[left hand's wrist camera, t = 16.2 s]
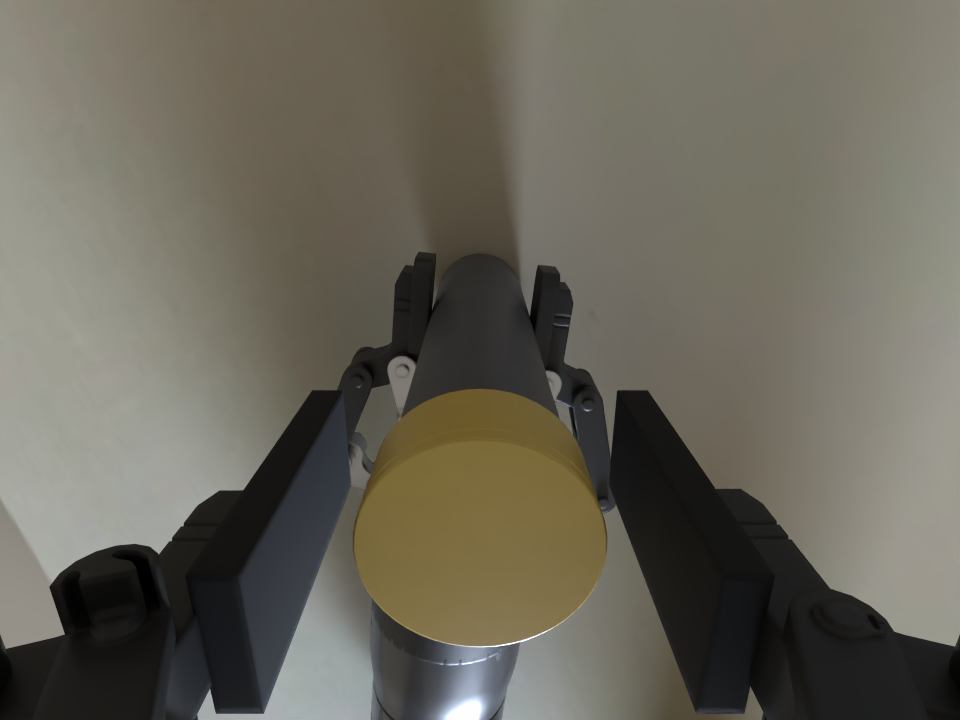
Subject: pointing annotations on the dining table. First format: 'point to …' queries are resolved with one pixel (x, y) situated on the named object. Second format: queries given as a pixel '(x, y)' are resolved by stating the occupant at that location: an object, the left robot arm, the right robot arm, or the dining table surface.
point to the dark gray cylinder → (480, 337)
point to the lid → (479, 521)
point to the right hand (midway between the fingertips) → (486, 264)
